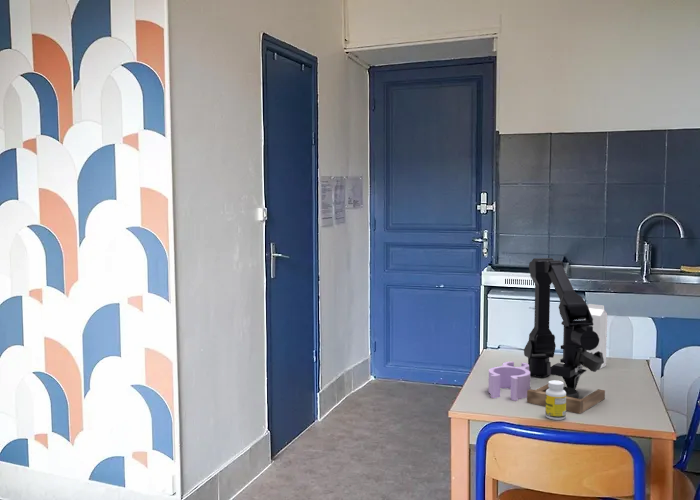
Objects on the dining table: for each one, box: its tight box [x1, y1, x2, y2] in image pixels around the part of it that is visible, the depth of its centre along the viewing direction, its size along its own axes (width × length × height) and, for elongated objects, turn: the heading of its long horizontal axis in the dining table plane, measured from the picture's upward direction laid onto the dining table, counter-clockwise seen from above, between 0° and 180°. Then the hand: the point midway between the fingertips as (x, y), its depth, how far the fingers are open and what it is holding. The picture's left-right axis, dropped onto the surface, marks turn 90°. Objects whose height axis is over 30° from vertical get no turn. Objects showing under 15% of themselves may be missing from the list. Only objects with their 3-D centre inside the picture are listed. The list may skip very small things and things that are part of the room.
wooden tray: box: [526, 383, 606, 415], centre depth 199 cm, size 16×18×4 cm
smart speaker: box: [563, 386, 580, 399], centre depth 197 cm, size 9×9×4 cm
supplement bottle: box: [544, 379, 567, 421], centre depth 184 cm, size 5×5×10 cm
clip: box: [487, 360, 531, 402], centre depth 210 cm, size 20×12×7 cm, turn 154°
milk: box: [583, 303, 608, 370], centre depth 237 cm, size 6×6×22 cm
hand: (572, 393), depth 203 cm, fingers closed
